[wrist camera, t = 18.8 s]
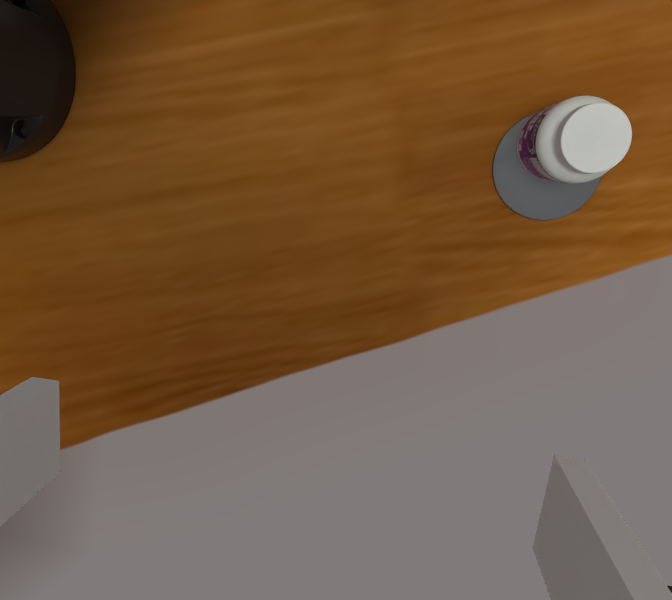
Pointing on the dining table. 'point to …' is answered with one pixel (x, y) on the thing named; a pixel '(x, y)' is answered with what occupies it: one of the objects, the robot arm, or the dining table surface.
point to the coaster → (534, 184)
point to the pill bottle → (574, 140)
